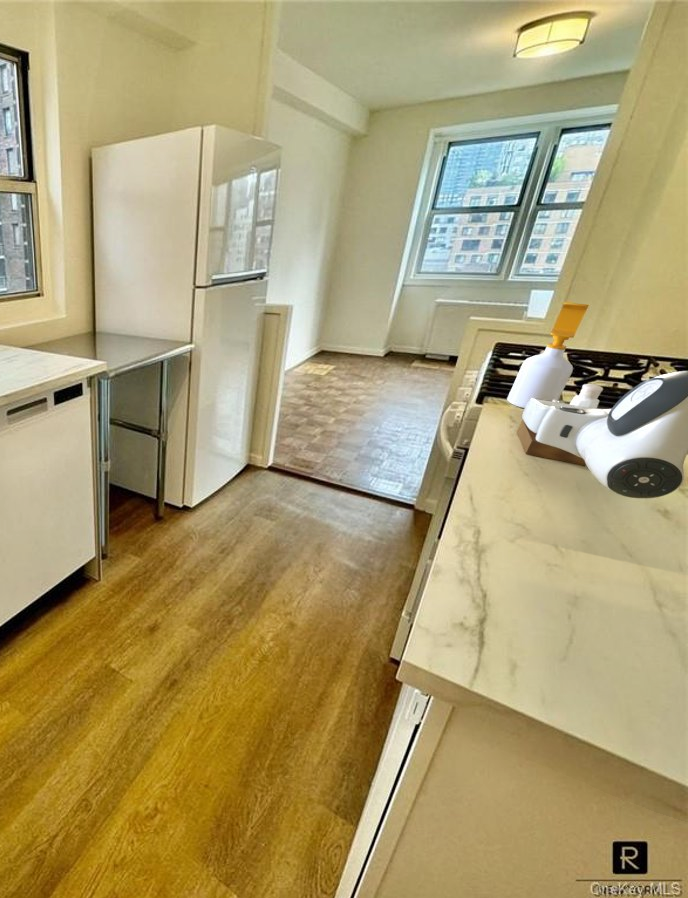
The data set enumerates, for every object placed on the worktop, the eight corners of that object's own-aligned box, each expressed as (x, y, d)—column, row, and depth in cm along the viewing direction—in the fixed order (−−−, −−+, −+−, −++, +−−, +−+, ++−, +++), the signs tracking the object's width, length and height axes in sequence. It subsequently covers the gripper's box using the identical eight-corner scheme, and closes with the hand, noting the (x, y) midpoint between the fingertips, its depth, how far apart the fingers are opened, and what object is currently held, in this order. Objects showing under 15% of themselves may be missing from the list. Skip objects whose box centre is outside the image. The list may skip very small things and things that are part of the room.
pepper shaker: (589, 446, 93) (619, 393, 87) (553, 441, 95) (581, 388, 89) (578, 435, 97) (606, 383, 92) (544, 430, 99) (569, 379, 94)
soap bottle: (503, 404, 119) (548, 302, 107) (509, 395, 124) (552, 297, 113) (551, 415, 113) (604, 308, 102) (555, 404, 119) (605, 302, 107)
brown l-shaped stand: (589, 444, 100) (609, 409, 96) (606, 469, 91) (628, 431, 87) (516, 431, 105) (532, 397, 101) (525, 453, 96) (543, 417, 92)
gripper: (714, 434, 73) (677, 404, 83) (540, 406, 82) (527, 382, 93) (689, 470, 76) (657, 437, 86) (524, 439, 85) (513, 412, 96)
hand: (588, 408), depth 90 cm, fingers open, 8 cm apart
